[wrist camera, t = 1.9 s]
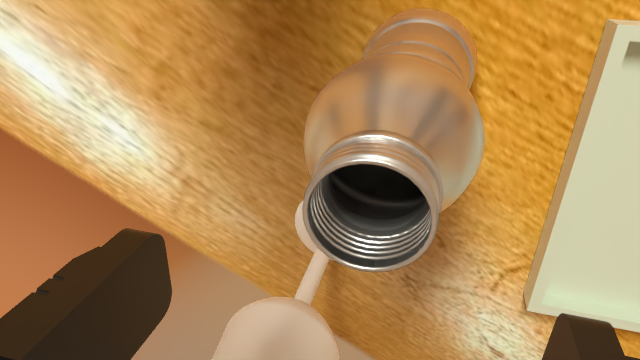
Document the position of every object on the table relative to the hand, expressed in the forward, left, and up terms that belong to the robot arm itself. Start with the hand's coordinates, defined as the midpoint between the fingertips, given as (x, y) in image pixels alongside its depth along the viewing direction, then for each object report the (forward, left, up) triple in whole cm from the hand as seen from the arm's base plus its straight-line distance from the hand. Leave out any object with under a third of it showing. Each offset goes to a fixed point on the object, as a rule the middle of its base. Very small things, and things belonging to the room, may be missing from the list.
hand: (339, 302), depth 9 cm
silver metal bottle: (0, 0, -24) cm, 24 cm away
